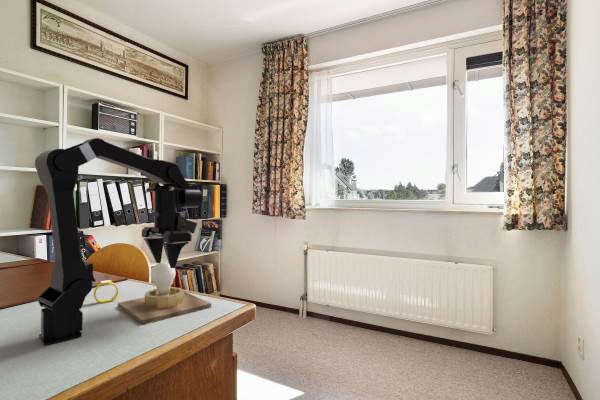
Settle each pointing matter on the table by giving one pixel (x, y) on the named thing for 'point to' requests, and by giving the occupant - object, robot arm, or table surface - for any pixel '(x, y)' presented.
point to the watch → (105, 284)
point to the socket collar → (164, 299)
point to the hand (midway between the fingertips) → (165, 265)
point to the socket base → (148, 315)
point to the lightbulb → (163, 277)
